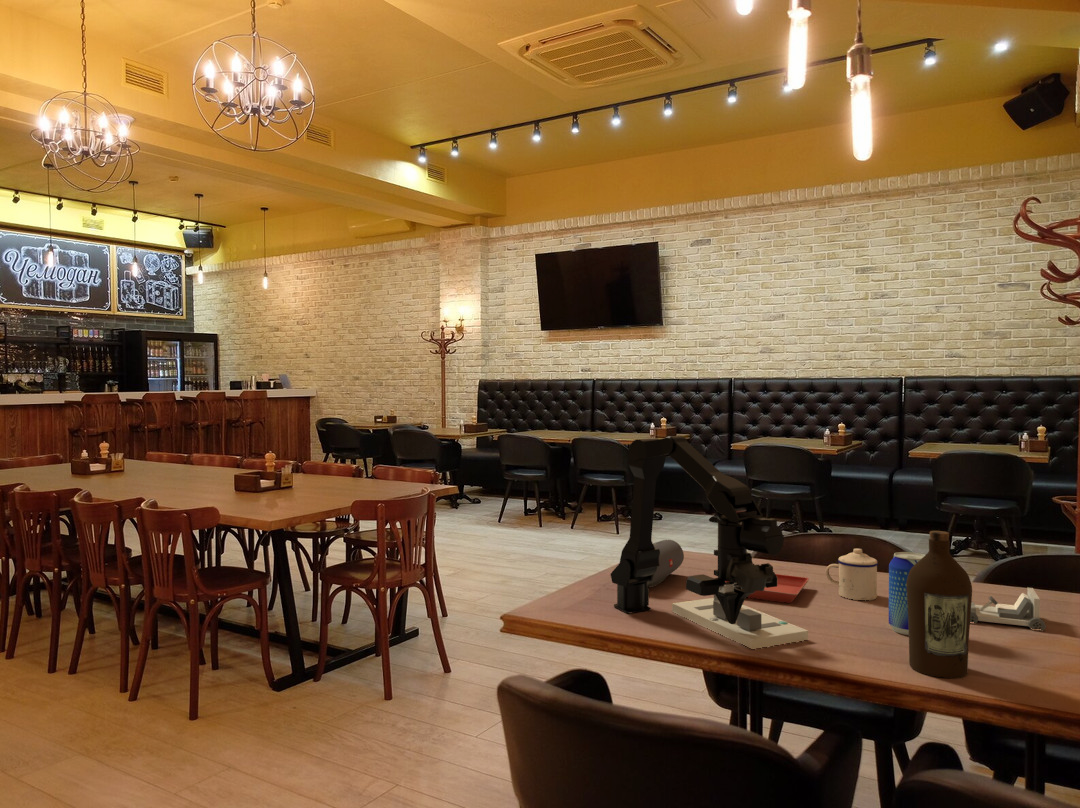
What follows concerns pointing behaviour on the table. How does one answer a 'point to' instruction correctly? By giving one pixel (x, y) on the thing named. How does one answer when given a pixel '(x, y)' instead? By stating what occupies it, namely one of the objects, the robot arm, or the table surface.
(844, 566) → the teacup with lid
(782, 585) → the plant saucer
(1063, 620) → the table surface
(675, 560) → the bluetooth speaker
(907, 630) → the beer can
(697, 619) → the switch board
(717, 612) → the dark grey box
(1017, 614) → the toy car
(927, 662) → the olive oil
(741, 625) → the dark grey block
